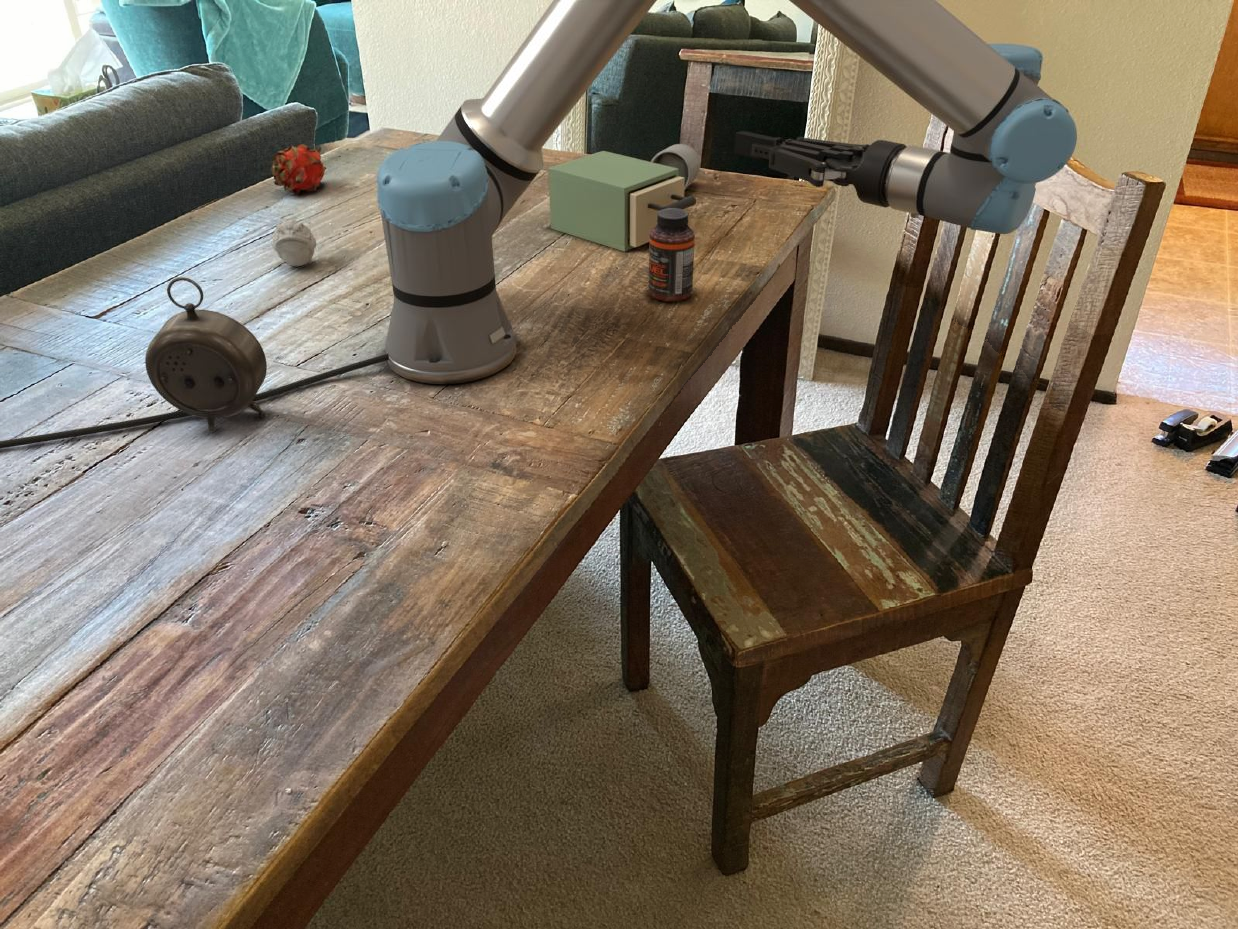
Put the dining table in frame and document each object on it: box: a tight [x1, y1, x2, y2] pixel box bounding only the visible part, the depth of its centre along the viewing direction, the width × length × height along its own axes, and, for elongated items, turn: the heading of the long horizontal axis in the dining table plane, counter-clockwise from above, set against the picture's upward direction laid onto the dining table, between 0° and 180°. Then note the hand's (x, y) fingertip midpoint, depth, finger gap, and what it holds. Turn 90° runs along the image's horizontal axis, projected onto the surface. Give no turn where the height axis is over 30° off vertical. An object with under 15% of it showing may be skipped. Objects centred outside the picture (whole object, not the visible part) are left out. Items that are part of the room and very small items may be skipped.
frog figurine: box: [271, 218, 317, 267], centre depth 133 cm, size 6×7×7 cm
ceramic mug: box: [650, 143, 701, 191], centre depth 162 cm, size 11×8×8 cm
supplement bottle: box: [648, 208, 696, 303], centre depth 122 cm, size 6×6×11 cm
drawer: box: [628, 176, 697, 248], centre depth 142 cm, size 19×11×8 cm, turn 49°
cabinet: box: [547, 150, 679, 252], centre depth 144 cm, size 16×13×10 cm
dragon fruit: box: [269, 143, 327, 195], centre depth 163 cm, size 8×8×12 cm
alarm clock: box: [144, 276, 268, 433], centre depth 94 cm, size 11×5×16 cm, turn 90°
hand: (738, 142), depth 125 cm, fingers closed
